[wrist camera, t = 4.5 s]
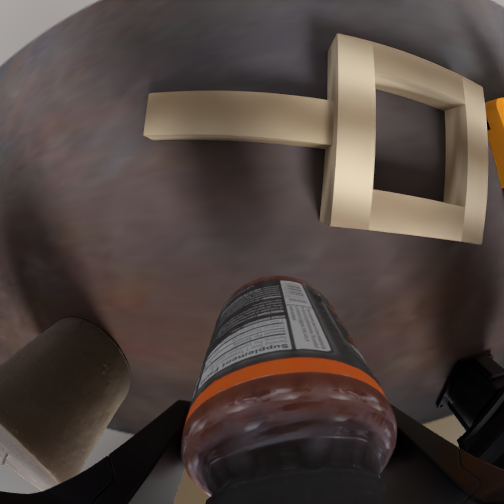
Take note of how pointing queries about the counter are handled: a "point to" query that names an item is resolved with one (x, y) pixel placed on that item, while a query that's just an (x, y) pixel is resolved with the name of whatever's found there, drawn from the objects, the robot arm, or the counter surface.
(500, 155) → the bracket
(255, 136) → the wooden frame with handle
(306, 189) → the counter surface
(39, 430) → the pillar candle
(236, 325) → the supplement bottle
